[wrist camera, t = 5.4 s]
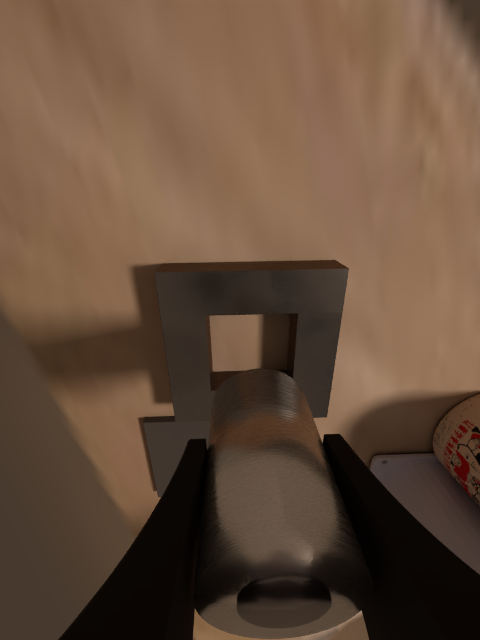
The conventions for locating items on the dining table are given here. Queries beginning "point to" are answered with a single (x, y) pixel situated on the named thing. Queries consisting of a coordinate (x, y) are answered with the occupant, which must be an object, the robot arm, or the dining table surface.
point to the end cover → (273, 518)
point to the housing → (245, 299)
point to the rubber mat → (170, 445)
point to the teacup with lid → (461, 445)
